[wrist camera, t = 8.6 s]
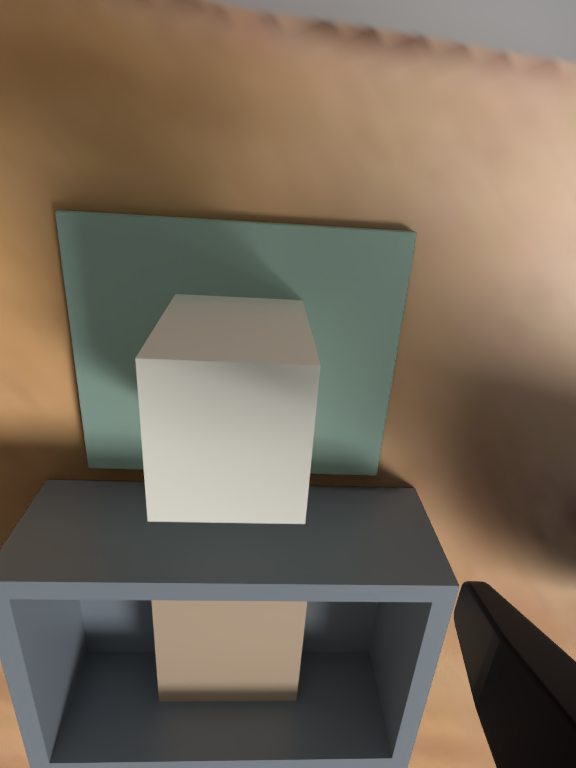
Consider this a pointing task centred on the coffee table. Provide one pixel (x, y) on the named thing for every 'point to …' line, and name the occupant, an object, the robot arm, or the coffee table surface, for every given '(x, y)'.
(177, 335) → the block
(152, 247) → the board
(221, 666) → the slot box
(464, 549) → the coffee table surface
